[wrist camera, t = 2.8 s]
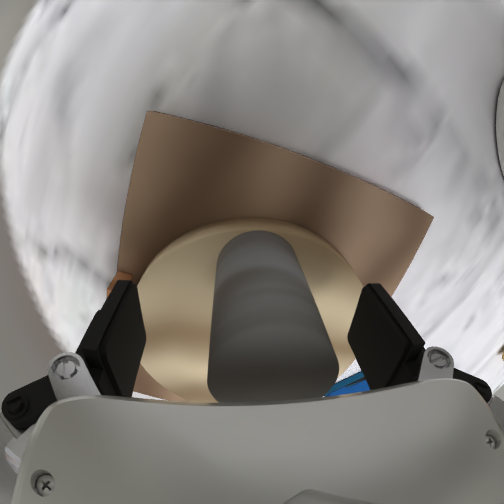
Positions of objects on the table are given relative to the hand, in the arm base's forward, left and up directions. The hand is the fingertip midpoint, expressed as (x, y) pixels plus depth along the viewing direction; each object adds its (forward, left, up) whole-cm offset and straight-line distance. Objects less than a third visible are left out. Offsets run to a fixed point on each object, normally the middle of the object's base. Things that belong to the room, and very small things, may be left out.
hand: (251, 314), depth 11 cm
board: (-2, +5, -7) cm, 9 cm away
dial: (-2, +5, -5) cm, 7 cm away
